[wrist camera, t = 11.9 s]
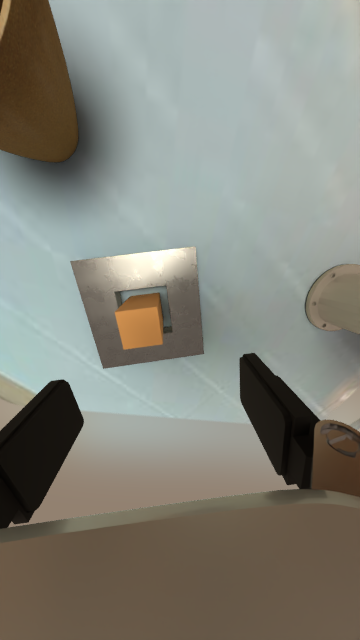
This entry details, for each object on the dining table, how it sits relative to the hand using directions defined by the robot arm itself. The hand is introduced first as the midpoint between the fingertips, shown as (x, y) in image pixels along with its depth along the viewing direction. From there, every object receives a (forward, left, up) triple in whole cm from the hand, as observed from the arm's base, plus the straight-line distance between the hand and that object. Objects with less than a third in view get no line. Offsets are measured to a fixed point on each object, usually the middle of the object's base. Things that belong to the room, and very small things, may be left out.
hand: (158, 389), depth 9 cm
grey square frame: (+3, +1, -22) cm, 22 cm away
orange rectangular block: (+3, +1, -22) cm, 23 cm away
